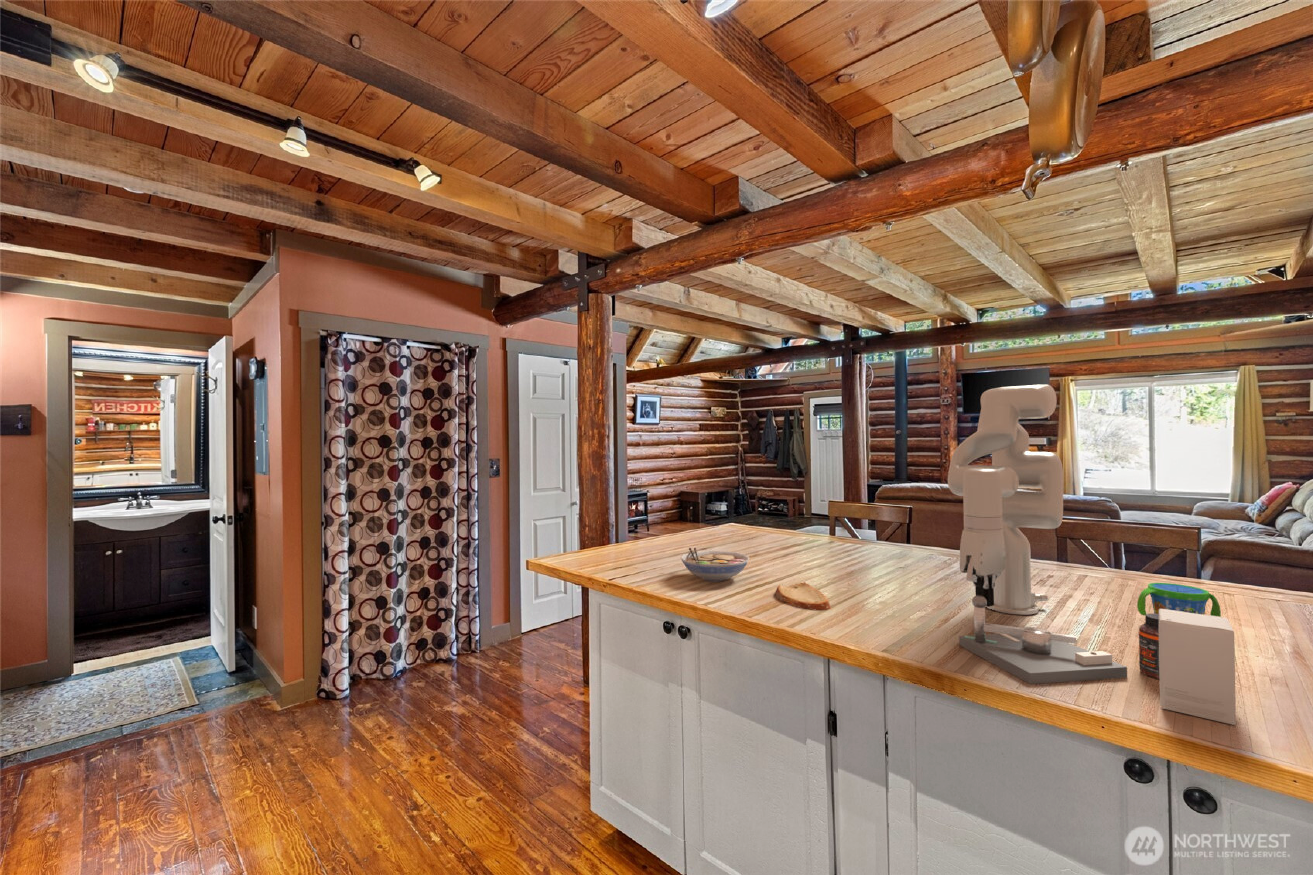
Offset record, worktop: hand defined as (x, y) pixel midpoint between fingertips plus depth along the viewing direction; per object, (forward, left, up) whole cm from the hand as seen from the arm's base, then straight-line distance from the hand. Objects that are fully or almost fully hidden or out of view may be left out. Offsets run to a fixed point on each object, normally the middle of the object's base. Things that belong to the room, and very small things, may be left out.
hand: (984, 604), depth 124 cm
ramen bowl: (+47, -66, -9) cm, 81 cm away
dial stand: (-3, +11, -8) cm, 14 cm away
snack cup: (-49, 0, -9) cm, 50 cm away
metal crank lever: (-1, +10, -6) cm, 11 cm away
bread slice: (+27, -39, -9) cm, 48 cm away
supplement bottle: (-20, +21, -9) cm, 30 cm away
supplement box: (-13, +33, -9) cm, 37 cm away
